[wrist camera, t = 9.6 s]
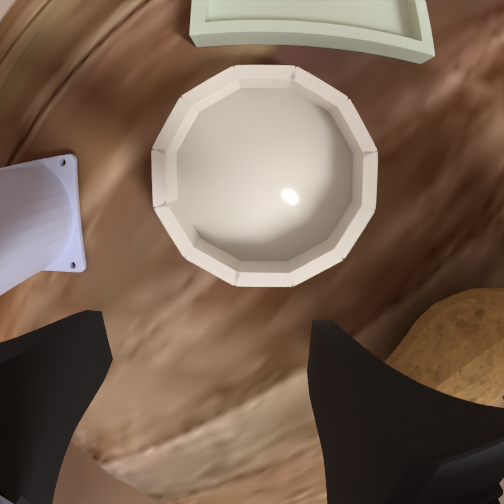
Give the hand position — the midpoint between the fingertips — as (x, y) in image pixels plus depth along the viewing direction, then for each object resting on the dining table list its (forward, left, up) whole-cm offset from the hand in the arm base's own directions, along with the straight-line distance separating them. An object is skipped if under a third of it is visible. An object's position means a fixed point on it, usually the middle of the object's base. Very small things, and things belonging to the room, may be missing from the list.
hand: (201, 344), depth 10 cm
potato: (+15, -6, -10) cm, 19 cm away
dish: (+2, +5, -9) cm, 11 cm away
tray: (+5, +19, -9) cm, 22 cm away
